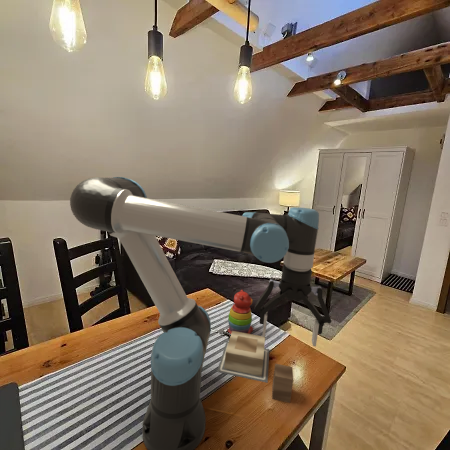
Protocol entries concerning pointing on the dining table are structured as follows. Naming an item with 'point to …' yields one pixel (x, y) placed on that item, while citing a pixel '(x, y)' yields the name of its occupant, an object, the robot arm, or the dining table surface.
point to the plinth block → (245, 353)
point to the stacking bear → (241, 314)
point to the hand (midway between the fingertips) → (288, 338)
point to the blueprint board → (245, 375)
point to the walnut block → (282, 383)
